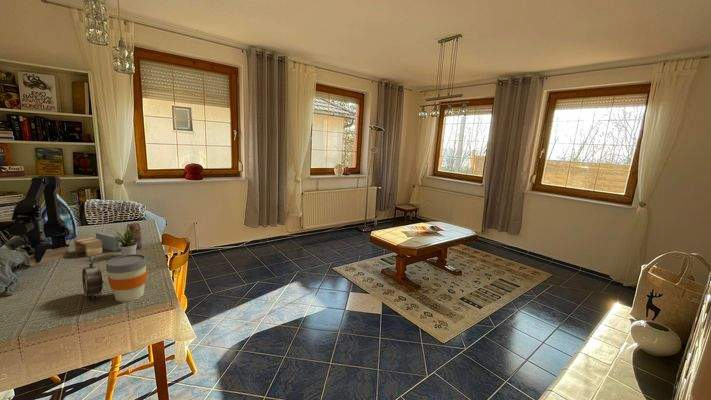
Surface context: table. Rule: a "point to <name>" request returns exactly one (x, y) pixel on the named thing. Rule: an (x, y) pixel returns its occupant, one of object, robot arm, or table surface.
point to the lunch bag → (64, 215)
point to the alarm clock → (92, 280)
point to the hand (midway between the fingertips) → (35, 261)
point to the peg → (49, 256)
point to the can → (138, 241)
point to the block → (88, 246)
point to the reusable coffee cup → (127, 276)
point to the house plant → (128, 241)
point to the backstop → (108, 241)
